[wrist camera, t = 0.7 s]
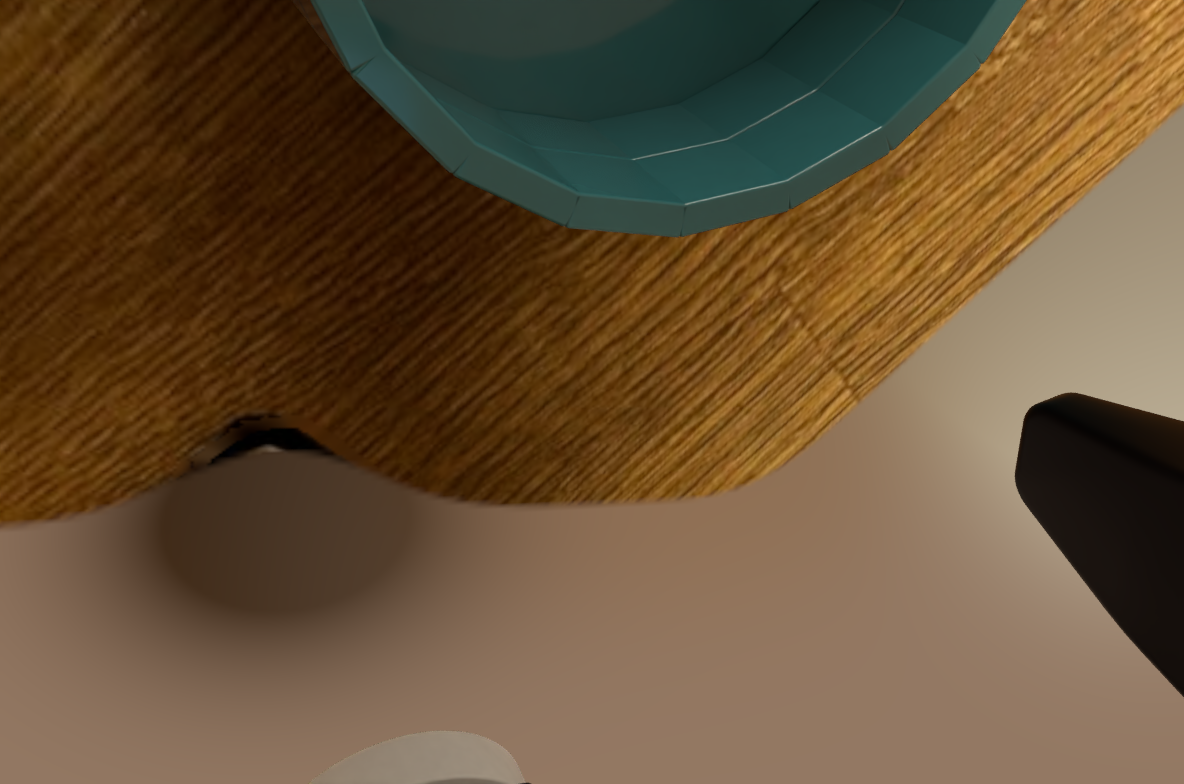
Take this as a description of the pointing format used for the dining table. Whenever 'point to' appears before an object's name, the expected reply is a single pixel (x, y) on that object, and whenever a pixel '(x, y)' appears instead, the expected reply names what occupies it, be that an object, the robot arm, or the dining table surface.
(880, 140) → the pan
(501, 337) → the dining table surface
